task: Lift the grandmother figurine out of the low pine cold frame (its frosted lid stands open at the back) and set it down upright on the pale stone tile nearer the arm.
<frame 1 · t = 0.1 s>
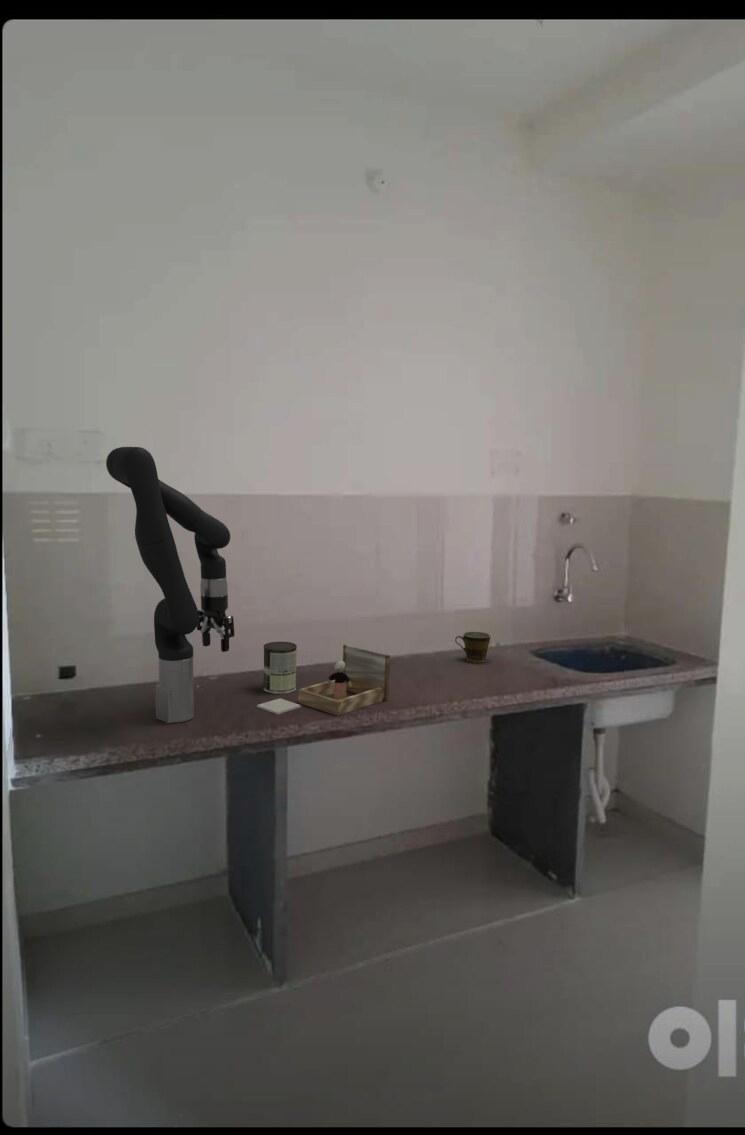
hand: (215, 648, 211), 17 cm above the kitchen counter, tool pointing down, fingers open, 8 cm apart
ceramic cup: (471, 661, 272), on the kitchen counter
tile: (278, 707, 214), on the kitchen counter
coffee can: (279, 689, 232), on the kitchen counter
cold frame: (341, 701, 221), on the kitchen counter
grandmother figurine: (339, 702, 220), resting in cold frame
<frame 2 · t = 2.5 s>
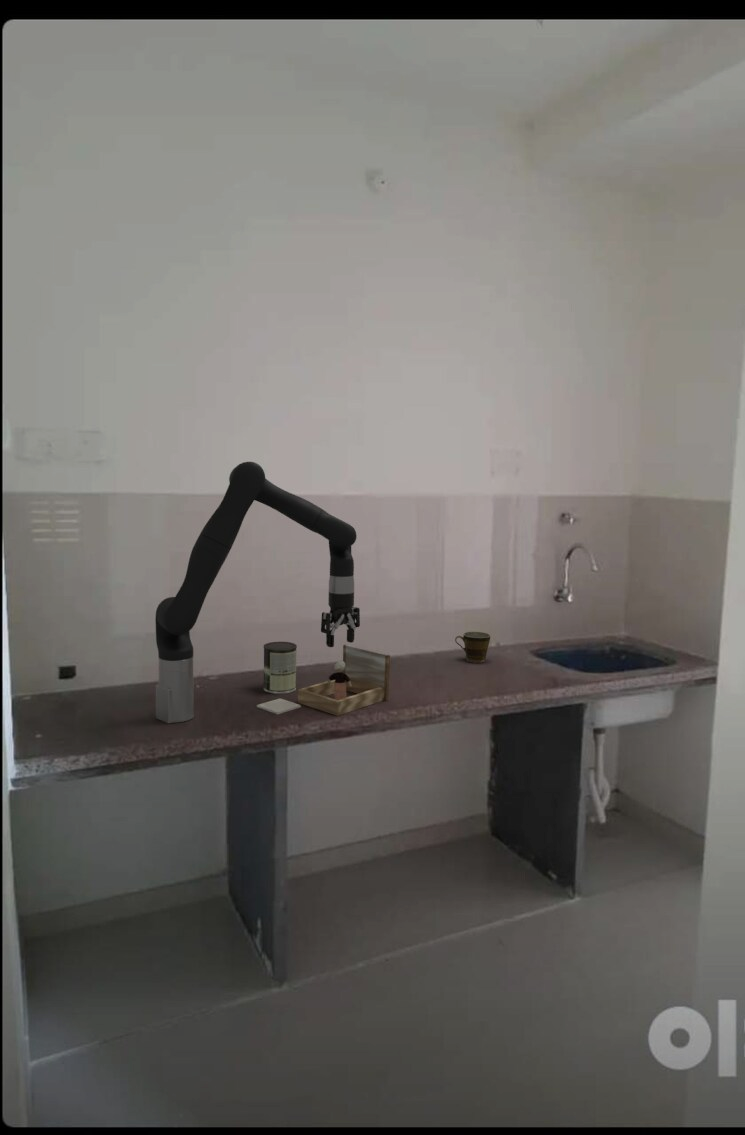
hand: (340, 644, 218), 18 cm above the kitchen counter, tool pointing down, fingers open, 8 cm apart
nothing on the kitchen counter moved.
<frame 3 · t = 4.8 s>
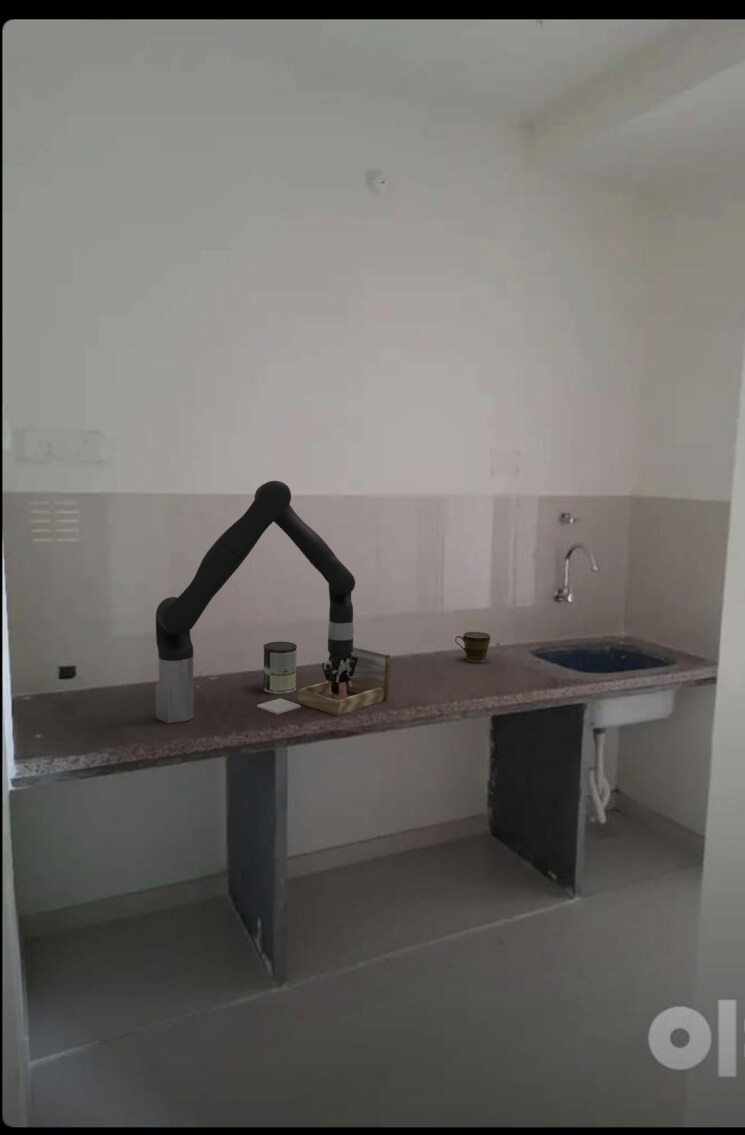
hand: (339, 692, 220), 3 cm above the kitchen counter, tool pointing down, fingers closed on grandmother figurine, 3 cm apart
grandmother figurine: (339, 702, 220), resting in cold frame, touching gripper
everything else where it was.
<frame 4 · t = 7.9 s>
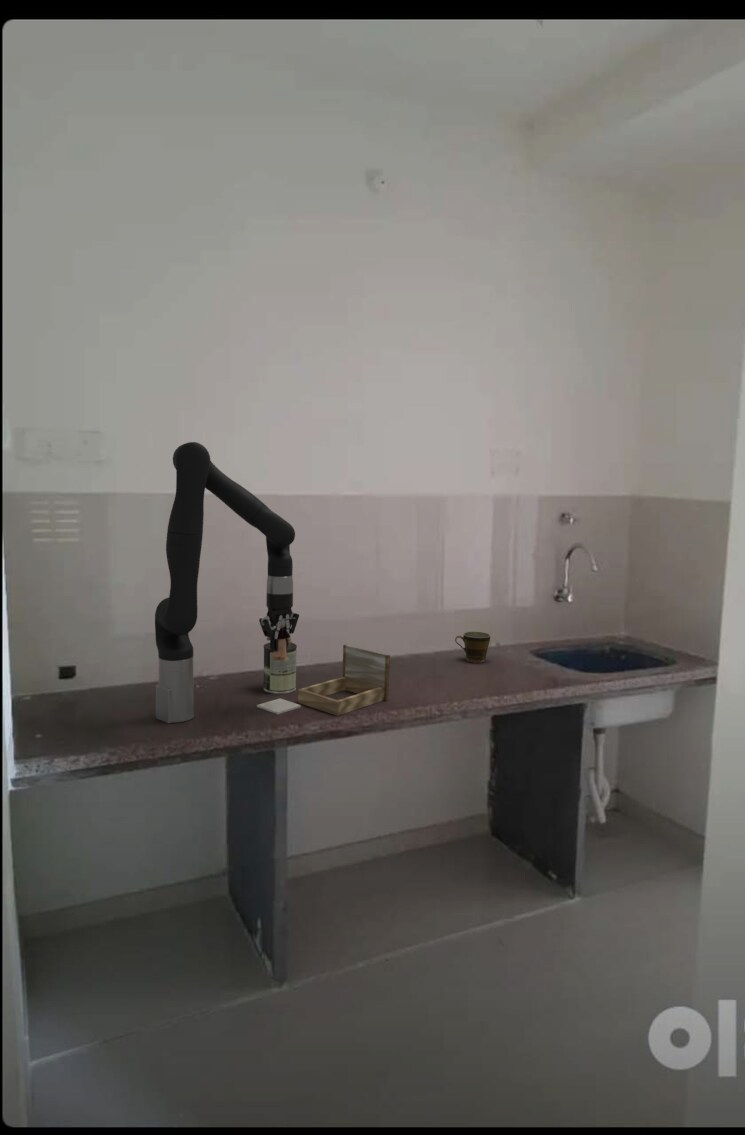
hand: (279, 649, 212), 17 cm above the kitchen counter, tool pointing down, fingers closed on grandmother figurine, 3 cm apart
grandmother figurine: (278, 660, 212), point 14 cm above the kitchen counter, touching gripper
everything else where it was.
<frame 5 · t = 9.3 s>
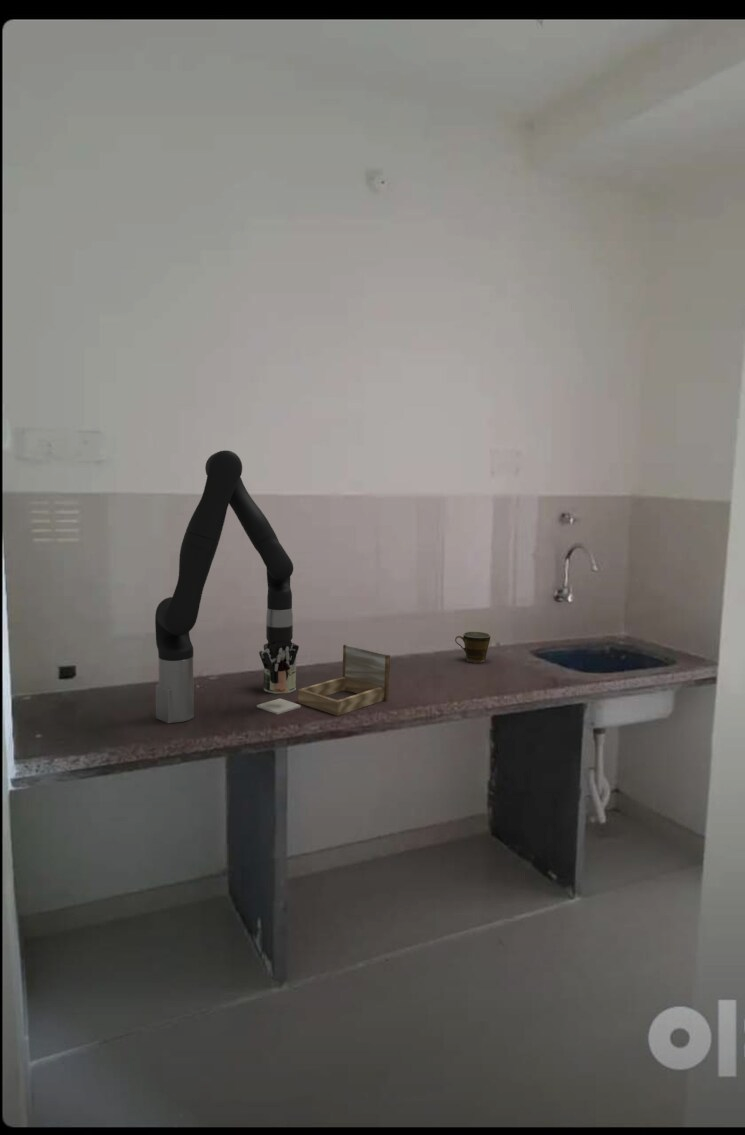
hand: (279, 681, 213), 8 cm above the kitchen counter, tool pointing down, fingers closed on grandmother figurine, 3 cm apart
grandmother figurine: (279, 691, 214), point 5 cm above the kitchen counter, touching gripper
everything else where it was.
when the fingers open (4 cm above the kitchen counter, at t = 10.8 s): grandmother figurine stays where it is, resting on tile.
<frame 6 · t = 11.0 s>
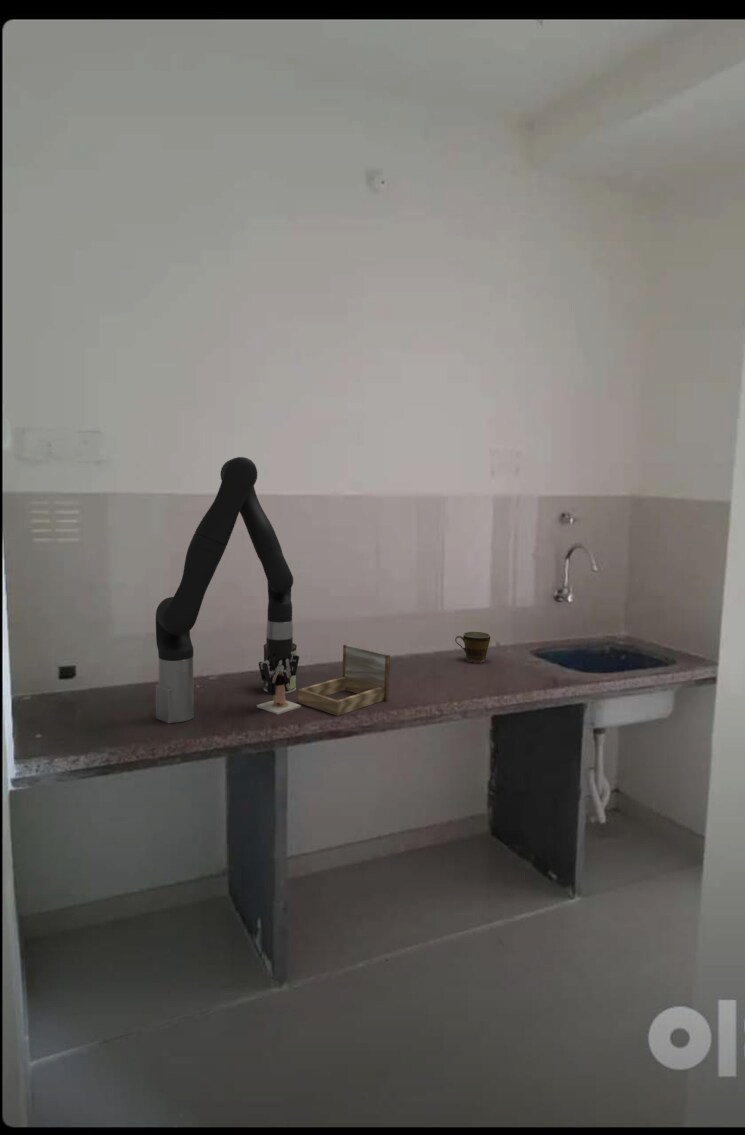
hand: (278, 692, 214), 4 cm above the kitchen counter, tool pointing down, fingers open, 4 cm apart
grandmother figurine: (278, 705, 214), resting on tile
everything else where it was.
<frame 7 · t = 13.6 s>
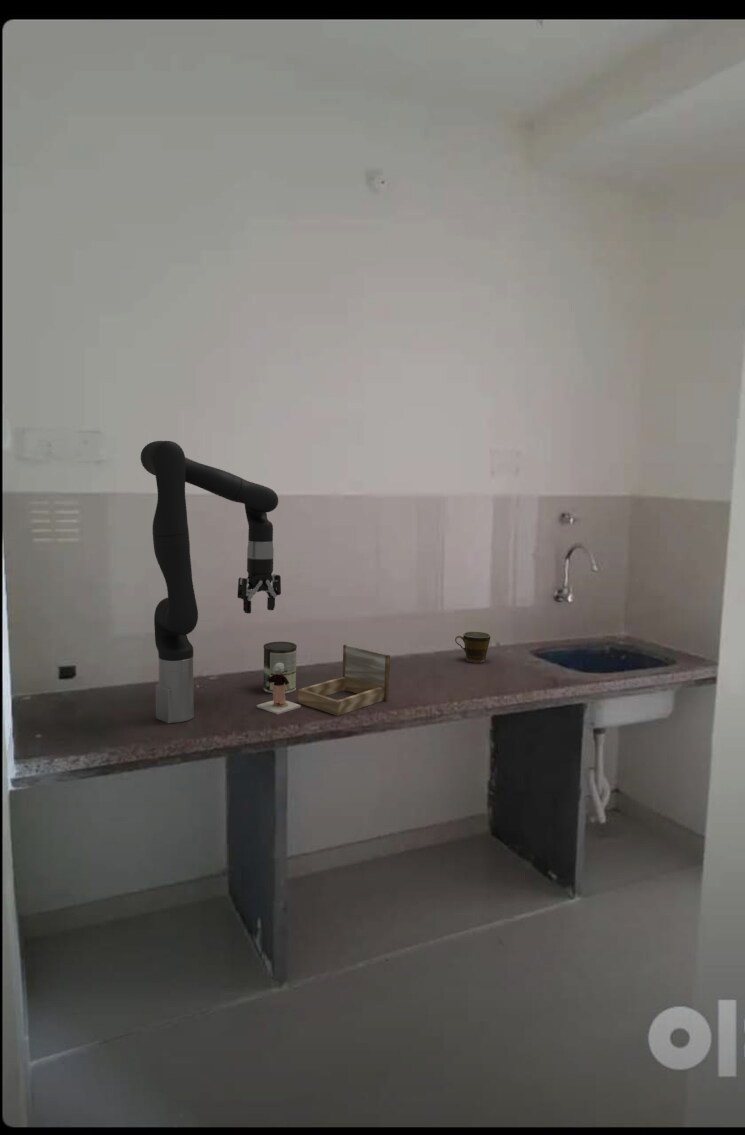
hand: (259, 611, 215), 27 cm above the kitchen counter, tool pointing down, fingers open, 8 cm apart
nothing on the kitchen counter moved.
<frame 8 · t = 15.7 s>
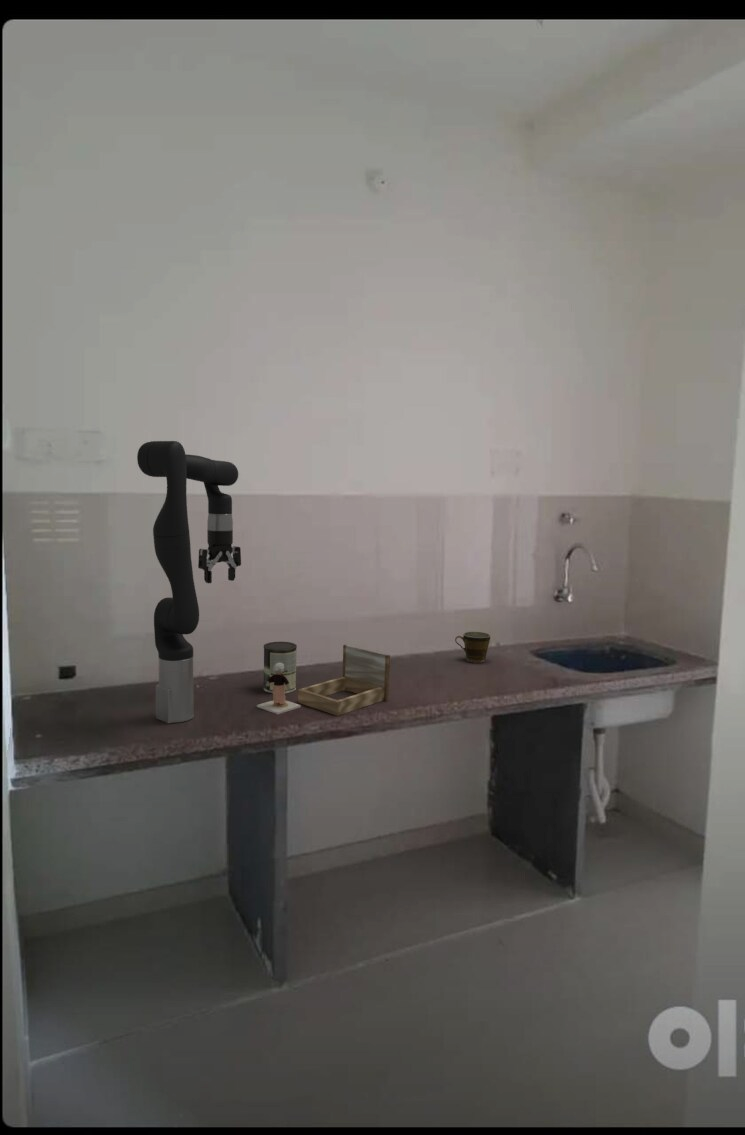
hand: (220, 581, 224), 34 cm above the kitchen counter, tool pointing down, fingers open, 8 cm apart
nothing on the kitchen counter moved.
at the end: grandmother figurine inside the target area on the tile (0.1 cm from its centre), point 0.4 cm above the tile's base; grandmother figurine tilted 0°; the gripper is holding nothing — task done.
